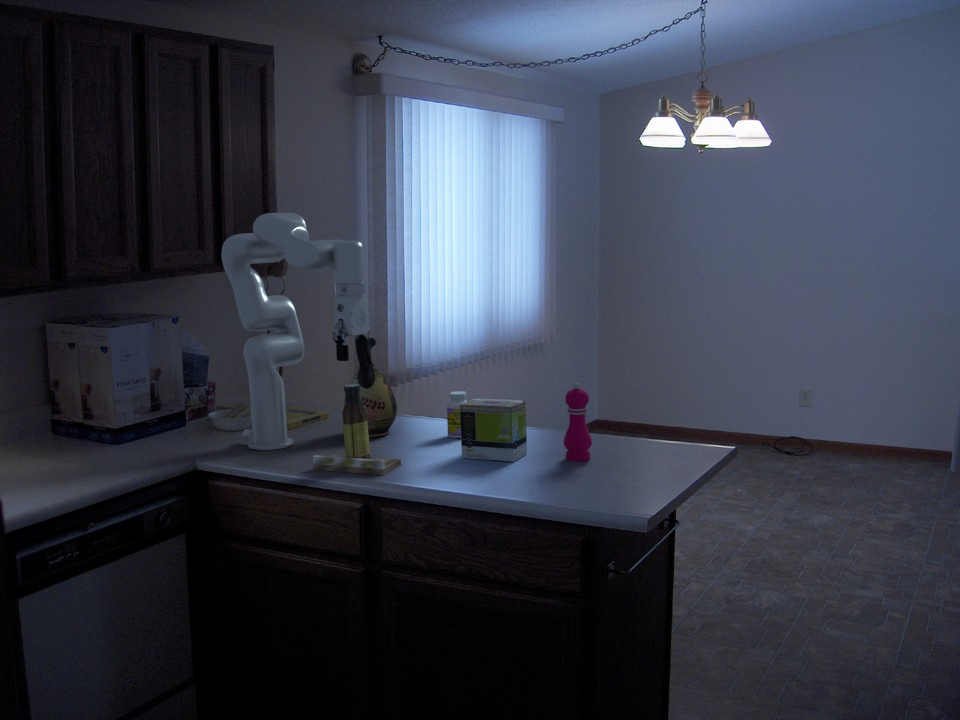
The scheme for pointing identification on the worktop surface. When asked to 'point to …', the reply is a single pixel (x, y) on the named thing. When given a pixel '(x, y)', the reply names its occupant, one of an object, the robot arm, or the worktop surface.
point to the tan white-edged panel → (355, 464)
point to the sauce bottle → (355, 424)
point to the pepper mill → (577, 426)
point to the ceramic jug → (374, 395)
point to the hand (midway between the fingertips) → (353, 357)
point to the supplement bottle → (455, 413)
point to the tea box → (493, 429)
